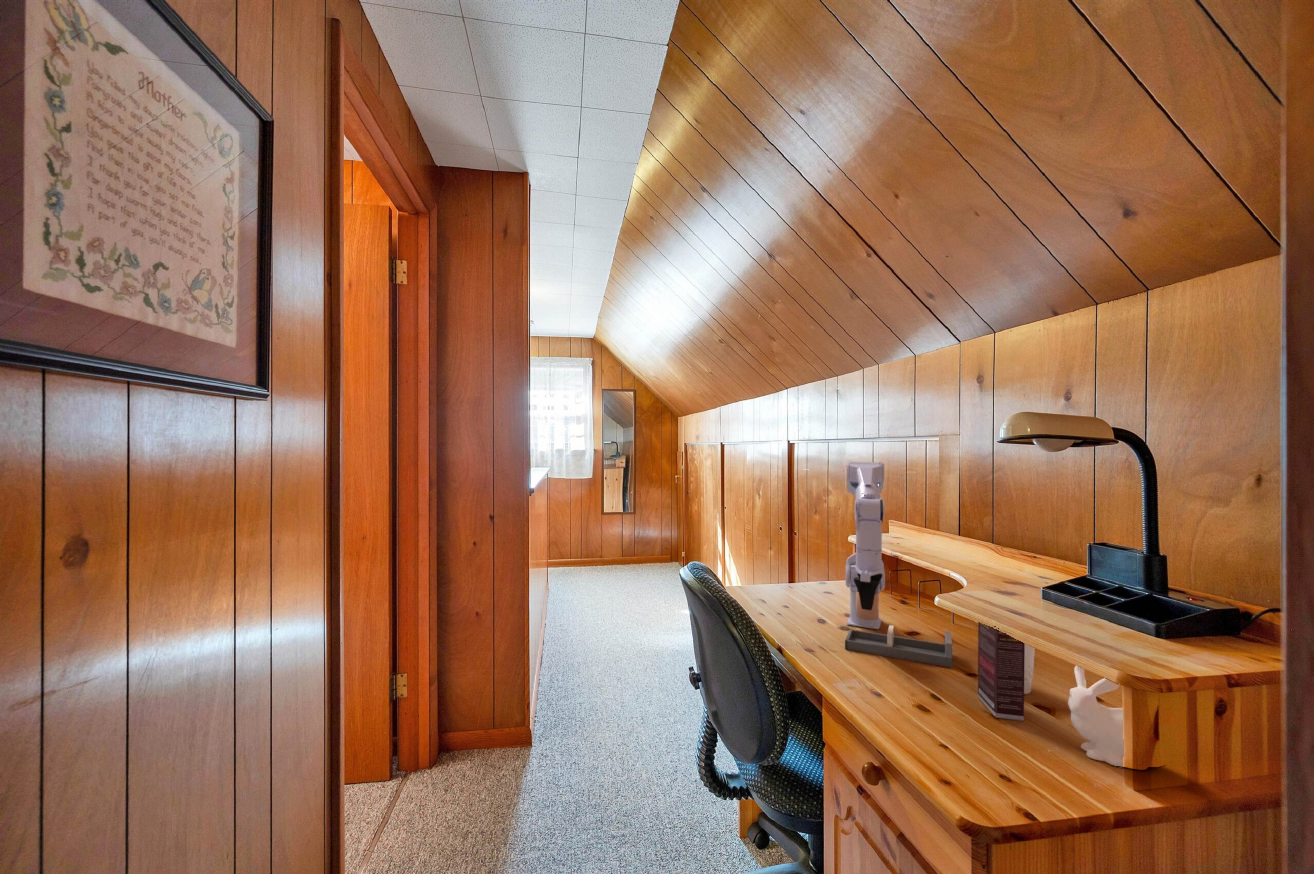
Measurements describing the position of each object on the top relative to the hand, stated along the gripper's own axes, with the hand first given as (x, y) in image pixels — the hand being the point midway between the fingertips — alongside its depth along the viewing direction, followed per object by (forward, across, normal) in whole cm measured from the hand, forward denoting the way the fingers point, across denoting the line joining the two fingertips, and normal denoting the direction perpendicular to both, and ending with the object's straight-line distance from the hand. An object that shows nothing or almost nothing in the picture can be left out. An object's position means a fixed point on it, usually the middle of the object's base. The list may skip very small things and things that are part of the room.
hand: (868, 606), depth 129 cm
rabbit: (+10, +32, +38) cm, 50 cm away
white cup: (+10, +10, +28) cm, 31 cm away
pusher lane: (+9, 0, +6) cm, 11 cm away
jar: (+2, 0, 0) cm, 3 cm away
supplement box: (+10, +22, +25) cm, 34 cm away
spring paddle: (+9, 0, +5) cm, 10 cm away
